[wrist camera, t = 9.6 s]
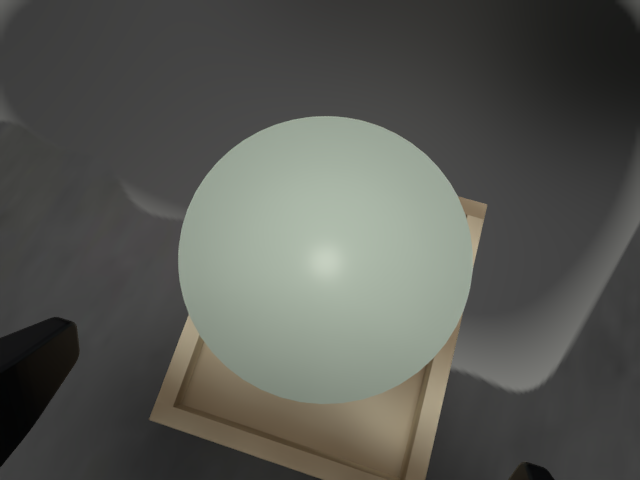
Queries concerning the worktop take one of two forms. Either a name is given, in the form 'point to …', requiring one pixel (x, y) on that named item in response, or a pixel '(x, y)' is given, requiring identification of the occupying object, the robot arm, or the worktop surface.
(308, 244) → the pillar candle
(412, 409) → the tray
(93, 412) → the worktop surface
